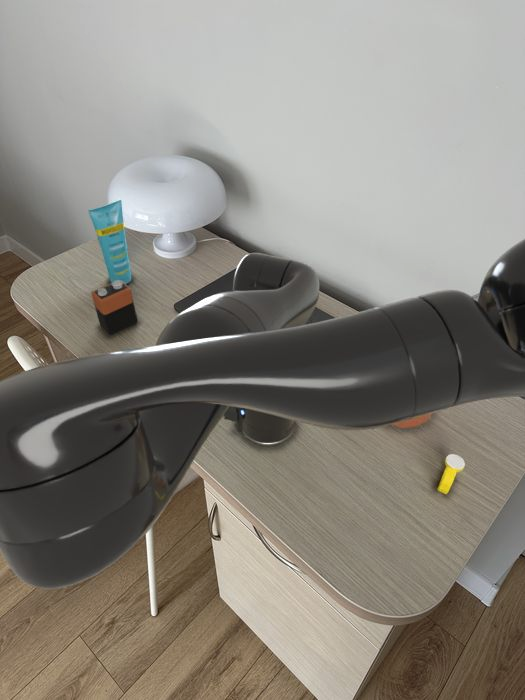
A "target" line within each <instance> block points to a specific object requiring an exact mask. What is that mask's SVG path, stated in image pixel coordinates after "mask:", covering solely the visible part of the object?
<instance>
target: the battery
mask: <svg viewBox="0 0 525 700" xmlns="http://www.w3.org/2000/svg"><path fill="white" fill-rule="evenodd" d="M91 298H92V301H93V304H94V305H93V306H94V309H95V312H96V315H97V318H98V322H99V326H100V327H101V328H102V330H103V331H105V332H106V333H107V334H108V335H109V336H112V335H114V334H117V333H119V332H120V331H123V330H125V329H127V328H129V327H132V326H133V325H135V324H137V323H138V317H137V316H138V315H137V312H136V307H135V302H134V298H133V293H132V289H131V288H130V287H129V285H127V284H125V283H123V282H122V281H121V280H117V281H114V282H113V283H111V282H110V283H109V284H106V285H104V286H102V287H100V288H97V289H95V290H93V291H91Z"/></svg>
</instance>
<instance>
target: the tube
mask: <svg viewBox="0 0 525 700" xmlns="http://www.w3.org/2000/svg"><path fill="white" fill-rule="evenodd" d="M87 213H88V215H89V217H90V219H91V223H92V225H93V228H94V231H95V233H96V236H97V240H98V243H99V247H100V250H101V252H102V257H103V260H104V263H105V267H106V270H107V274H108V277H109V280H110V284H111V283H113V282H114V281H117V280H121V281H122V282H123V283H125V284H126V285H127V284H129V283H130V282H131V281H132V272H131V271H132V270H131V266H130V260H129V252H128V245H127V238H126V230H125V221H124V214H123V213H124V212H123V203H122V199H118V200H115V201H112V202H110V203H107V204H105V205H102V206H98V207H94V208H91V209H88V210H87Z"/></svg>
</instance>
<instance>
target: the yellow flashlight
mask: <svg viewBox="0 0 525 700" xmlns="http://www.w3.org/2000/svg"><path fill="white" fill-rule="evenodd" d="M444 464H445V468H444V471H443V473H442V476H441V478H440V481H439V484H438V487H437V491H438V492H440V493H442V494H445V495H447V494H448V493H449V491H450V490H451V487H452V485H453V483H454V481H455V477H456V475H457V473H459V472H462V471H463V470H464V468H465V466H466V463H465V460H464V459H463V457H461V456H460V455H458V454H456V453H455V454H454V453H451V454H448V455H447V456H446V457H445V459H444Z"/></svg>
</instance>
